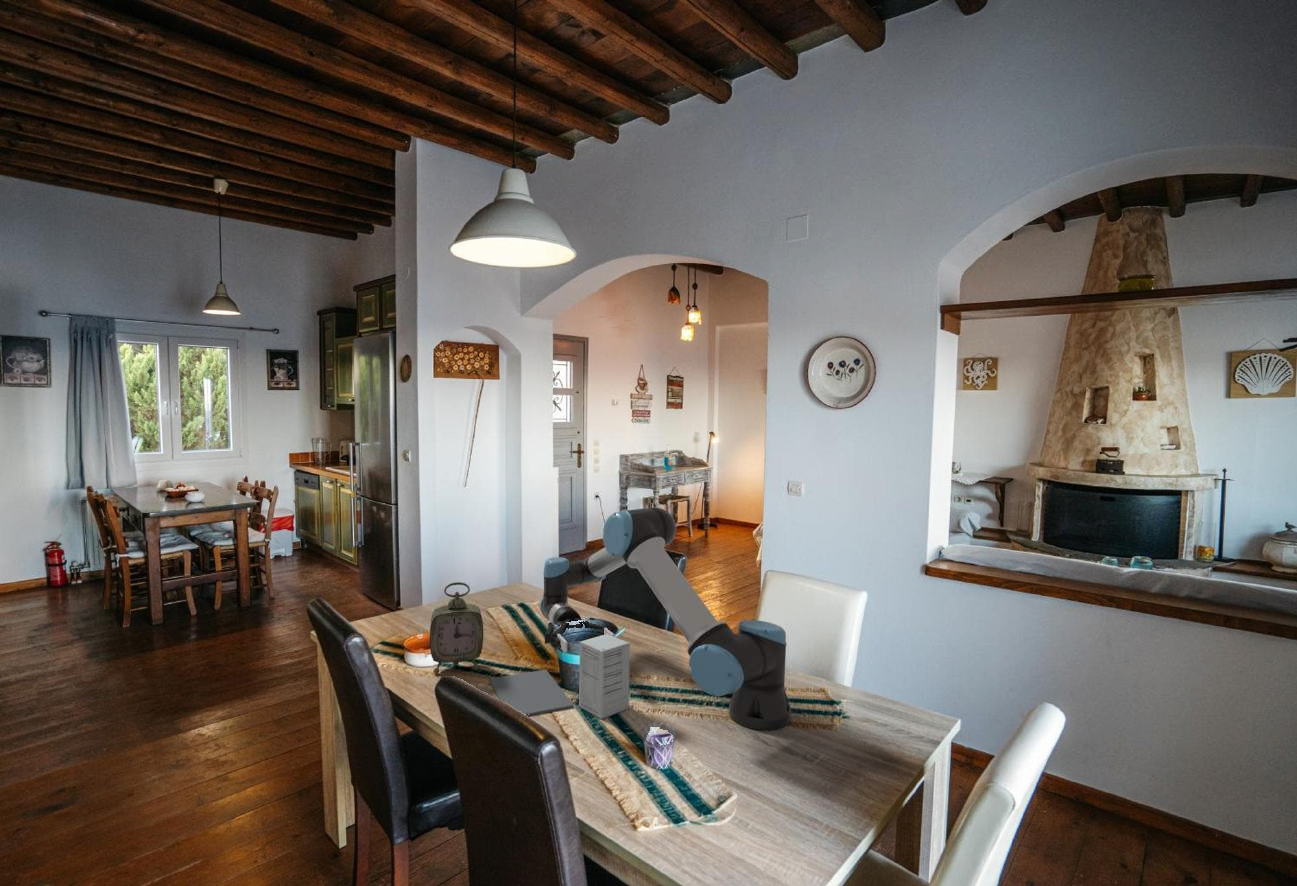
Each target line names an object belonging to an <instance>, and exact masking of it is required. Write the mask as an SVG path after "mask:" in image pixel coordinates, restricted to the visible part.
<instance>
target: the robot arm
mask: <svg viewBox="0 0 1297 886" xmlns="http://www.w3.org/2000/svg"><path fill="white" fill-rule="evenodd" d="M603 525H604V526H603V529H602V530H603V531H602V532H603V534H602V539H603V545H604V547H603V548H602V549H600V550H598V551H596V552H595V553H593V554H592V555H590V556H588V557H587V558H585V559H581V560H577V561H576V560H575V561H571V562H569V561H570V560H569V559H567V558H566V557H560V556H555V557H554V556H553V557H549V558H547V559H545V562H544V566H543V596H542V597H541V600H540V601H539V610H540V612H541V614H542V615H543V617H544V618H545V619H546V620H548V622H547V629H546V631H545V633H544V644H550V643H551V646H552V647H559V645H561V648H560V650H561V651H563V653H568V641H567V640H566V639H565V638H564V637H562V636H561V635H562V634H563V633H564V632H565V630H566V628H568V629H569V628H574V627H576V628H582V627H583V624H584V625H585V628H591V629H592V628H593V629H601V630H602V629H604V635H605V634H608V635H610V636H613V635H615V631H614V632H611V631H610V630H608V629H609V625H606V626H600V625H596V624H592V623H589V622H588V621H589V620H596V619H595V618H594V617H589V618H588V620H585V622H584V621H583V622H579V623H580V624H576V625H569V623H566V622H571V621H578V620H583V619H582V617H581V615H580V614H579V613H578V611H577V610H575V608H573V607H572V606H571V605H570V604H569V603H568V602H569V599H568V598H569V588H572V587H577V586H581V585H585V584H586V585H587V584H591V583H597V582H600V581H603V580H605V579H606V578H607V575H608V574H609V573H611V572H613V571H615V570H617V569H618V568H621V567H623V566H624V565H627V566H628V567H629V568H630V569H637V571H639V573H640V575H641V576H642V578H643V579H644V580H645V582H646V583H647V584H648V586H649V588H650V589H651V590H652V592H653V593H654V595H655V596H656V598H657V600H658V601H659V602H660V603H661V604H662V606H663V608H664V609H665V610H666V612H667V614H668V615H669V617H670V618H671V620H672V621H673V622H674V624H675V625H676V627H677V629H678V630H679V631H680V633H681V634H682V636H683V637H684V638H685V640H686V641H687V643H688V645H687V650H686V651H687V654H688V655H689V660H688V667H690V670H689V672H690V675H691V678H692V679H693V681H694V682H695V684H696V686H698V688H699V689H701V690H702V691H703V692H704V693H706V694H708V695H711V696H716V697H721V696H722V697H723V696H725V695H730V694H732V696H731V699H729V704H728V715H729V717H730V718H731V720H732V721H734V722H735V723H737V724H738V725H741V726H743V727H745V728H749V729H755V730H763V731H774V730H778V729H782V728H784V727H787V726H788V725H789V724H790V722H791V715H792V714H791V713H792V709H791V705H790V703H789V699H788V696H787V695H788V694H787V692H786V688H785V683H786V682H785V676H786V675H785V674H786V653H787V652H786V650H787V644H788V643H787V635H786V631H785V629H784V628H783V627H782V626H781V625H778V624H775V623H773V622H769V621H768V622H767V621H764V620H755V619H745V620H741V621H739V623H738V627H737V633H734V631H733V630H732V629H731V627H730V626H729V624H728V623H727V622H726V621H719V620H717V619H716V618H715V616H714V615H713V614H712V612H711V610H710V609H709V608H708V606H707V605H706V604H705V603H704V601H703V600H702V599H701V597H700V596H699V595H698V593H697V591H696V590H695V589H694V588H693V587H692V585H691V583H690V582H689V581H688V580H687V578H686V577H685V576H684V574H683V572H681V570H680V569H679V568H678V566H677V564H676V563H675V562H674V561H673V560H672V558H671V557H670V556H669V554H668V553H667V551H666V550H665V547H668V546H669V545H670V544H671V543H672V542H673V540H674V539H675V536H676V533H677V524H676V521H675V518H674V517H673V516H672V515H671V513H670V512H669V511H667V510H666V509H664V508H660V507H656V506H655V507H654V506H653V507H652V506H651V507H646V508H636V509H622V510H621V511H616V512H613V513H611V514H610V515H609V516H608V517H607V519H606V521H605V522H604V524H603ZM582 623H583V624H582ZM560 625H561V627H560V628H559V629H556V630H555V628H556V627H557V626H560ZM612 625H613V626H614V627H615V625H614V624H612ZM554 630H555V632H554ZM553 632H554V633H553Z"/></svg>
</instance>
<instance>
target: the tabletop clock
mask: <svg viewBox="0 0 1297 886" xmlns="http://www.w3.org/2000/svg"><path fill="white" fill-rule="evenodd" d="M457 585H458V586H459V585H461V586H465V588H467V592H464V593H461V594H460V592H458V591H456V592H455V593H454V594H451V593H450V594H449V593H448V592H447V589H449V588H450V587H452V586H457ZM470 591H471V588H470V586H469V585H468V584H467V583H465V582H460V581H459V582H457V581H456V582H452V583H449V584H447V585H446V586H445V587H444V590H443V592H444V595H446V596H447V597H448V598H451V599H450V600H449V602H448V604H447V605H441V606H438V607H436V608H435V609H434V610H433V611H432V613H431V618H430V625H429V626H430V627H429V628H430V629H429V649H430V651H429V652H430V655H431V658H432V660H433V662H436V663H438V664H437V666H436V667H435V668H434V669H433V673H434V674H435V675H438V674H439V673H440V666H441V664H447V663H448V664H452V666H454V667H457V666H459V663H462V662H468V661H471V663H472V664H473V665H472V669H473V670H474V671H477V670H478V669H479V667H480V666H479V664H478V663H476V661H475V659H477V658H479V657H480V656H481V654H482V652H483V651H482V650H483V647H484V638H485V637H484V636H485V635H484V623H483V618H482V614H481V613H482V612H481V610H480V607H479V606H478V605H476V604H470V603H466V600H465V599H464V598H462V597H464V596H467V595H468V594H469V593H470Z"/></svg>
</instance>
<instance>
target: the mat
mask: <svg viewBox="0 0 1297 886" xmlns="http://www.w3.org/2000/svg"><path fill="white" fill-rule="evenodd" d="M489 682H490V684H491V686H492V687H493V690H494V692H495V694H496V695H497V697H498V699H499V701H500V700H502V702H506V703H508V704H509V705H511V706H512V707H514V708H515V709H517V710H518V711H521V712H522V713H524V714H526V715H527V716H526V717H529V716H535V715H539V714H545V713H549V712H550V713H551V712H556V711H561V710H568V709H572V708H574V703H572V701H571V700H570V698H568V696H567V695H566V694H565V692H564V690H563V689H562V688H561V687H560V686H559V684H558V683H557V682H556V680H555V679H554V678H553V677H552V675H551V674H550V673H549V672H548V671H547V669H540V670H534V671H528V672H523V673H521V672H520V673H516V674H509V675H502V676H497V677H490V678H489ZM528 714H529V715H528Z"/></svg>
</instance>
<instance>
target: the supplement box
mask: <svg viewBox="0 0 1297 886" xmlns="http://www.w3.org/2000/svg"><path fill="white" fill-rule="evenodd" d="M630 645H631V643H630V642H628V641H625V640H623V639H620V638H618V637H616V636H615V637H613V636H610V635H608V634H605V635H597V636H595V637H591V638H589V639H585V640H582V641H579V680H578V682H579V683H578V685H579V686H578V689H579V692H578V707H579V708H581V709H583V710H584V711H587V712H588V713H590V714H592V715H593V716H595V717H597V718H599V719H601V720H602V719H605V718H608V717H610V716H613V715H615V714H618V713H621V712H623V711H625V710H629V709H630V648H631V647H630Z"/></svg>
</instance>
